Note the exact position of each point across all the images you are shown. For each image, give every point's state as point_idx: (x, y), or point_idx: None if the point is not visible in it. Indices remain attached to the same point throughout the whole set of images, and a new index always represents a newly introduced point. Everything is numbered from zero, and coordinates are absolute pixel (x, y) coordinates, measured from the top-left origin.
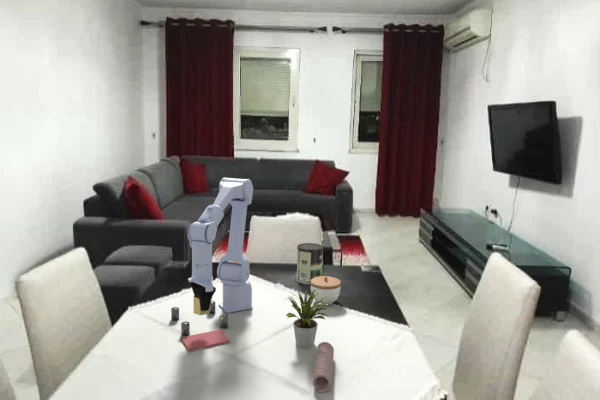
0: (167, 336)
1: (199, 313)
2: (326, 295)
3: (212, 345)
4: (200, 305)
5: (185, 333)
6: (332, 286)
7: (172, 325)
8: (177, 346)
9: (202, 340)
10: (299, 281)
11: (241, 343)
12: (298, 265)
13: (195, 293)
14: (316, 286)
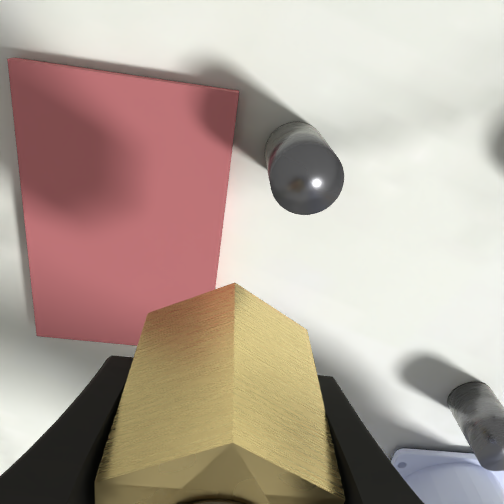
0: (350, 12)
1: (151, 320)
2: None
3: (31, 233)
4: (89, 399)
5: (269, 146)
6: None
7: (497, 129)
8: (135, 12)
9: (110, 206)
10: None
11: (7, 368)
12: None
13: (354, 501)
14: None
